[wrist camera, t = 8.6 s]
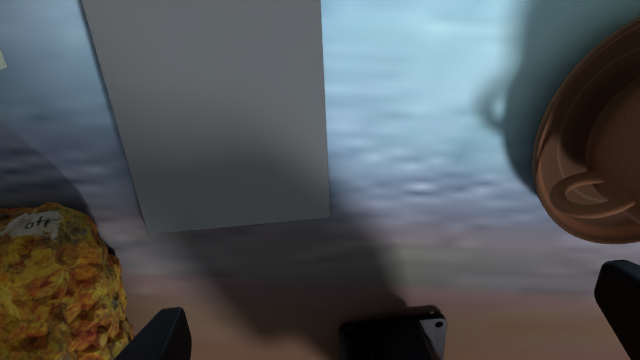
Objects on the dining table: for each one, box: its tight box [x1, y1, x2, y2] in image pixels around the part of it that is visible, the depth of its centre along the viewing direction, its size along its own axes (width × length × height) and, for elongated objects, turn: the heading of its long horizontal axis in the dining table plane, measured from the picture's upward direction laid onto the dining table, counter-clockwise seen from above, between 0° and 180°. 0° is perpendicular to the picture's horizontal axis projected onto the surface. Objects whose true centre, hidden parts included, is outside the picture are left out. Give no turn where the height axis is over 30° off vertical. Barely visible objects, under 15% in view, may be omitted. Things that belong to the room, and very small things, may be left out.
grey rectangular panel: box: [82, 0, 330, 234], centre depth 19 cm, size 12×9×1 cm
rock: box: [0, 202, 134, 360], centre depth 20 cm, size 12×9×11 cm
